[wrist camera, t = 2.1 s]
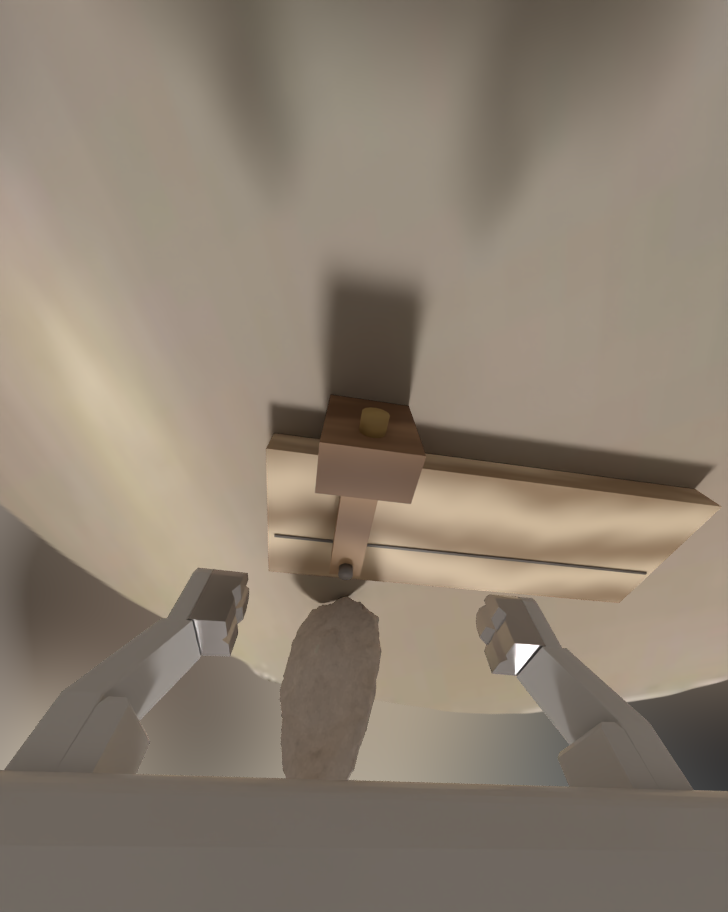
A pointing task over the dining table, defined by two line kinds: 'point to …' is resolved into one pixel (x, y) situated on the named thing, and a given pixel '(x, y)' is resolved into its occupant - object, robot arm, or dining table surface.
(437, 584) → the board
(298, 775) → the stone tool
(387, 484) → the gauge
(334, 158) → the dining table surface
